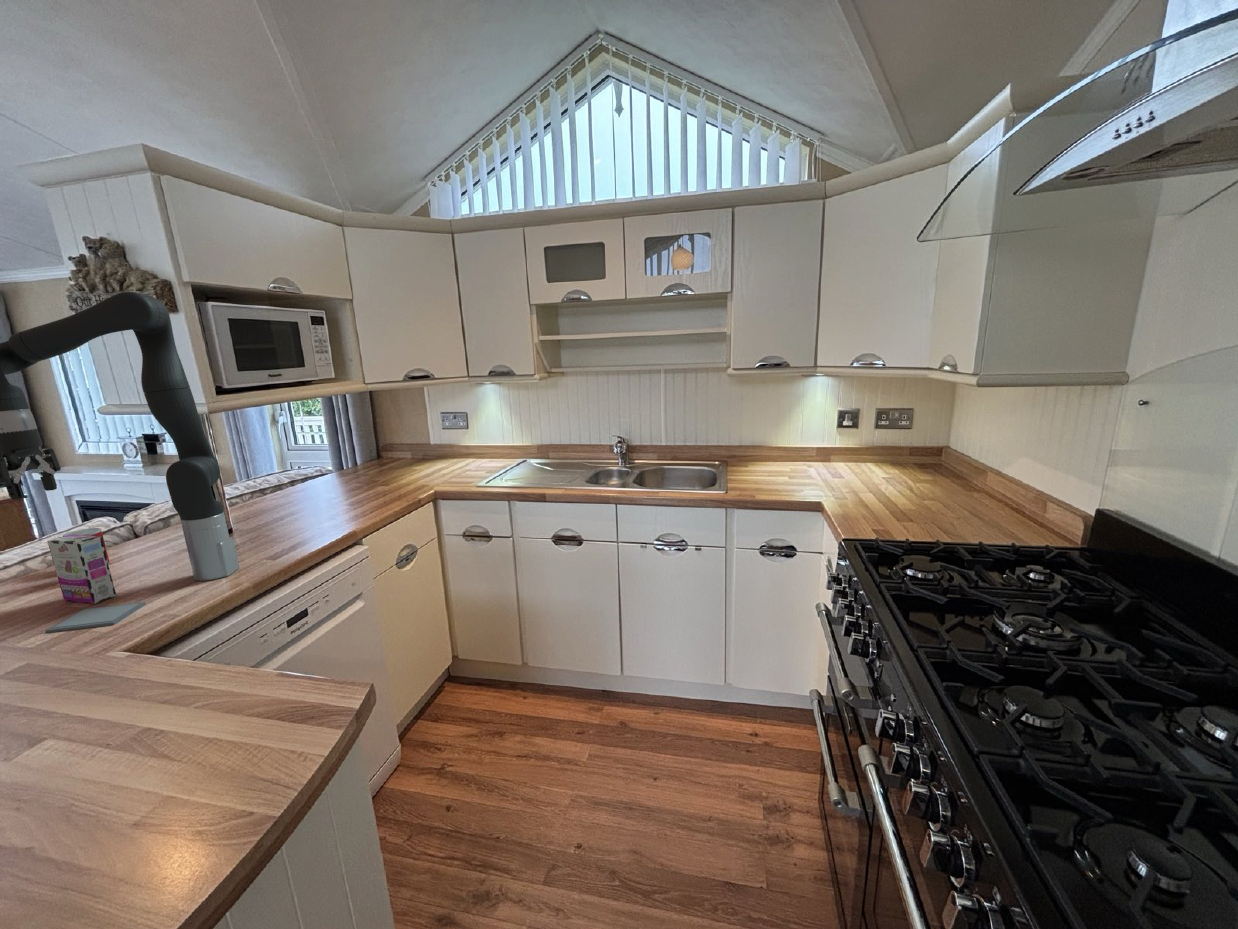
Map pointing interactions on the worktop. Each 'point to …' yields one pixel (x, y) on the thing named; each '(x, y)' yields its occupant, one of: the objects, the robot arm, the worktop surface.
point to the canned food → (93, 533)
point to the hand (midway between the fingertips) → (35, 494)
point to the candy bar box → (82, 568)
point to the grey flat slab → (96, 617)
